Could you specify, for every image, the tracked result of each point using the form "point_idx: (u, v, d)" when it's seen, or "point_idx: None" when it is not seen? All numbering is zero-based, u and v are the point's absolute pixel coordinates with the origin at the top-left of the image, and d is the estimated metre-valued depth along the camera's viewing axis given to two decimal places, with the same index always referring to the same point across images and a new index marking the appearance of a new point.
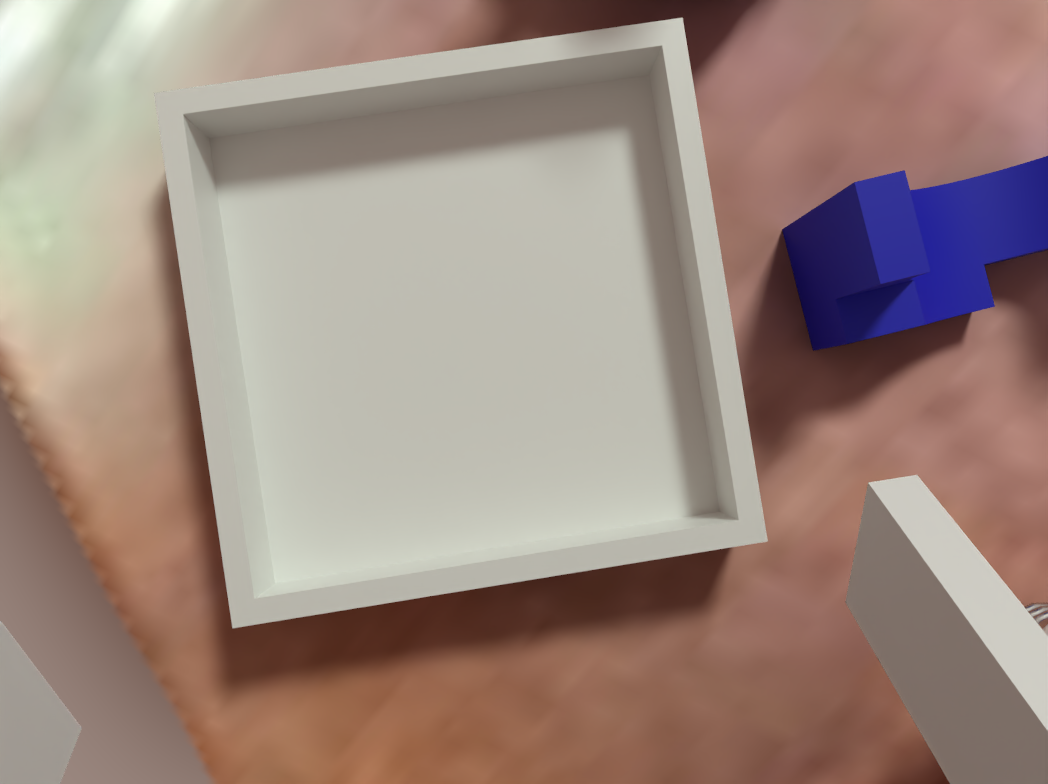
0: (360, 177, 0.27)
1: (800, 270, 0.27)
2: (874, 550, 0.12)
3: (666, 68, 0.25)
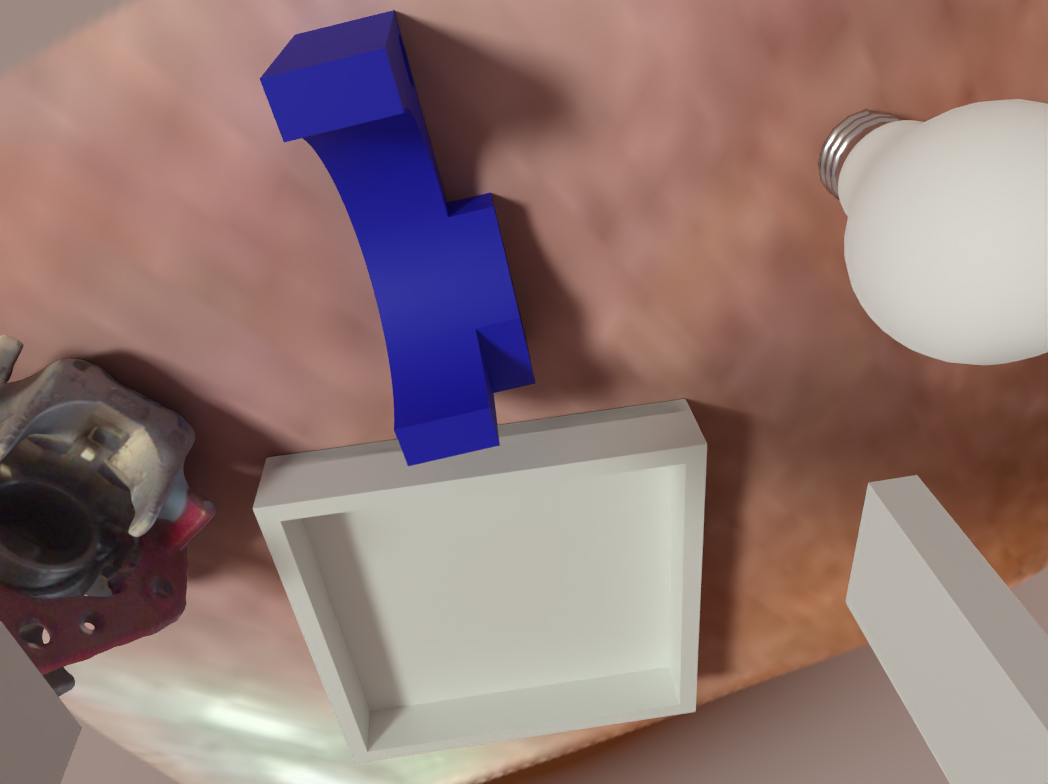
0: (392, 643, 0.37)
1: None
2: (874, 550, 0.12)
3: (300, 517, 0.29)
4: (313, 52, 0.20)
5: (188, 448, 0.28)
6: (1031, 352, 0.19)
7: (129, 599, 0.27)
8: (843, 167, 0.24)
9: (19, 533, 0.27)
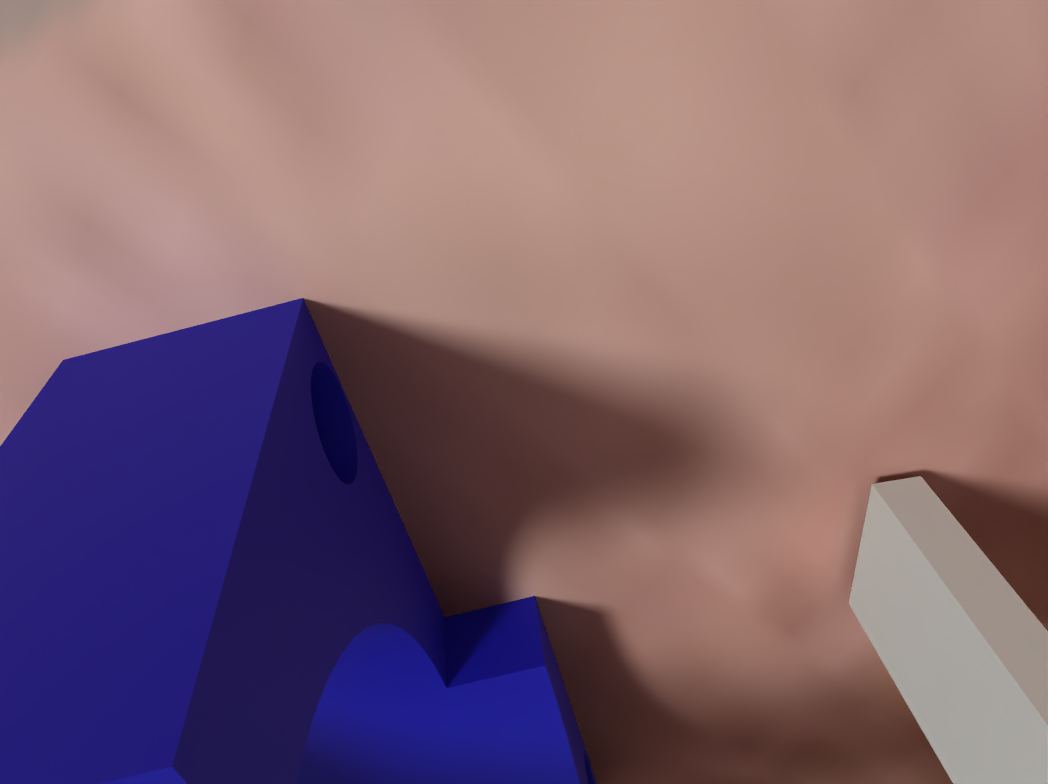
0: None
1: None
2: (878, 551, 0.12)
3: None
4: None
5: None
6: None
7: None
8: None
9: None
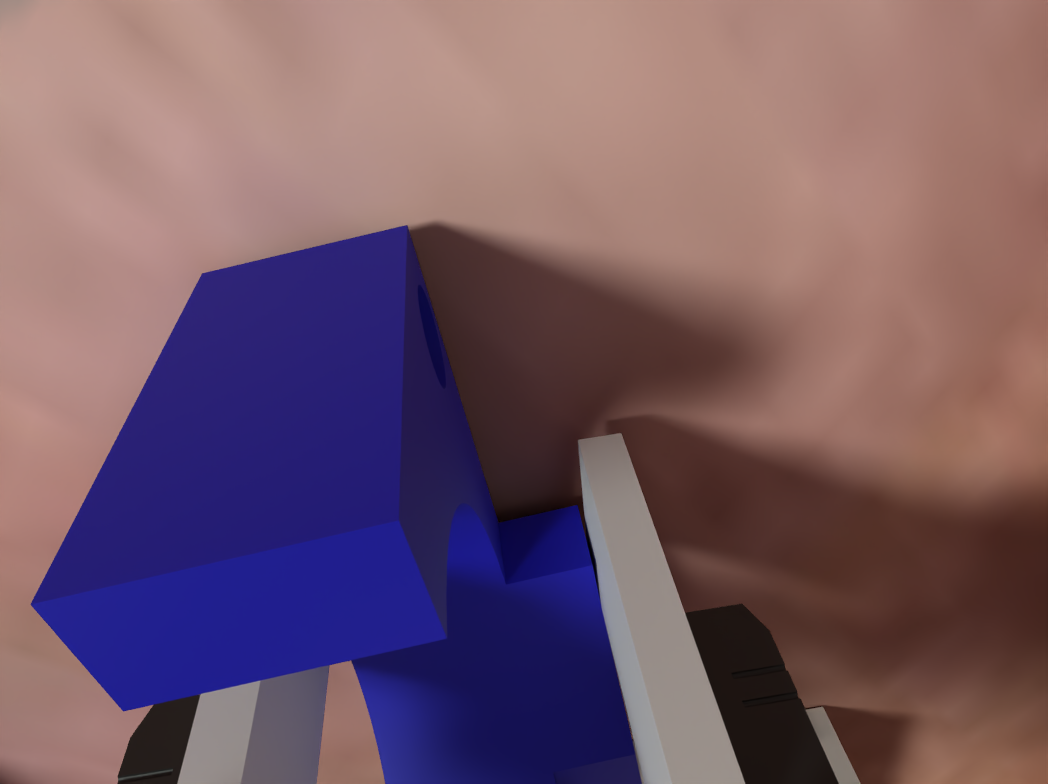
0: None
1: None
2: (586, 499, 0.13)
3: None
4: (210, 432, 0.08)
5: None
6: None
7: None
8: None
9: None
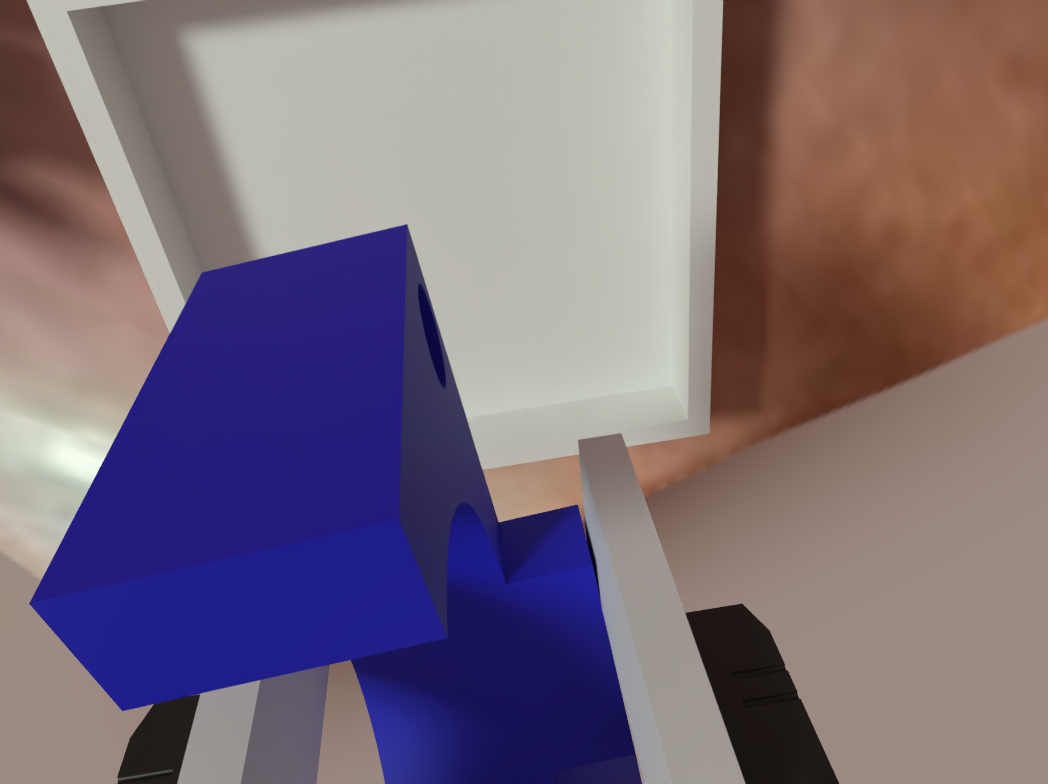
0: None
1: None
2: (586, 500, 0.13)
3: (97, 5, 0.19)
4: (210, 431, 0.08)
5: None
6: None
7: None
8: None
9: None
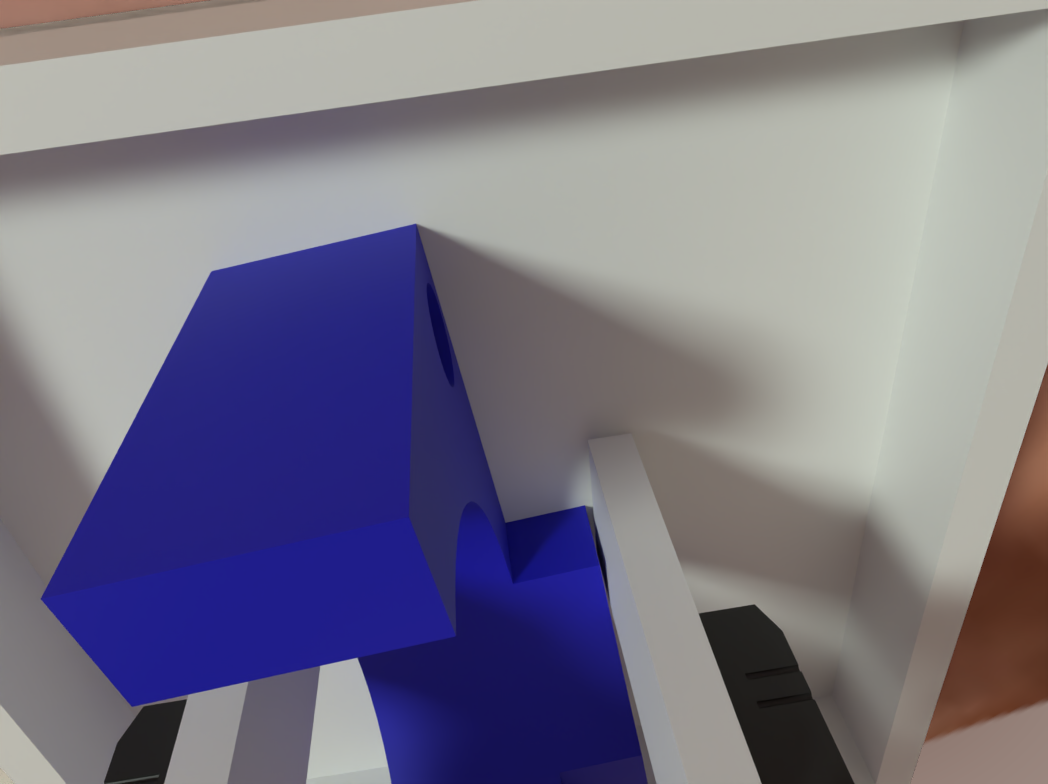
0: None
1: None
2: (596, 500, 0.13)
3: None
4: (220, 429, 0.08)
5: None
6: None
7: None
8: None
9: None
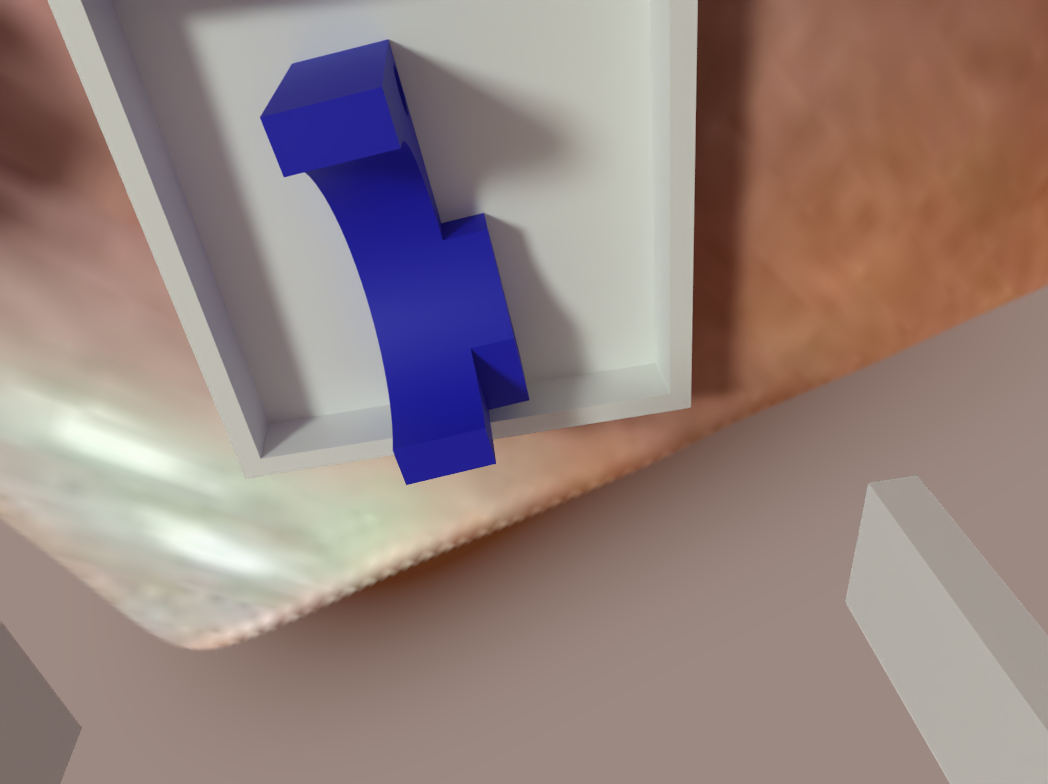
0: (287, 305, 0.28)
1: None
2: (874, 550, 0.12)
3: None
4: (311, 88, 0.20)
5: None
6: None
7: None
8: None
9: None
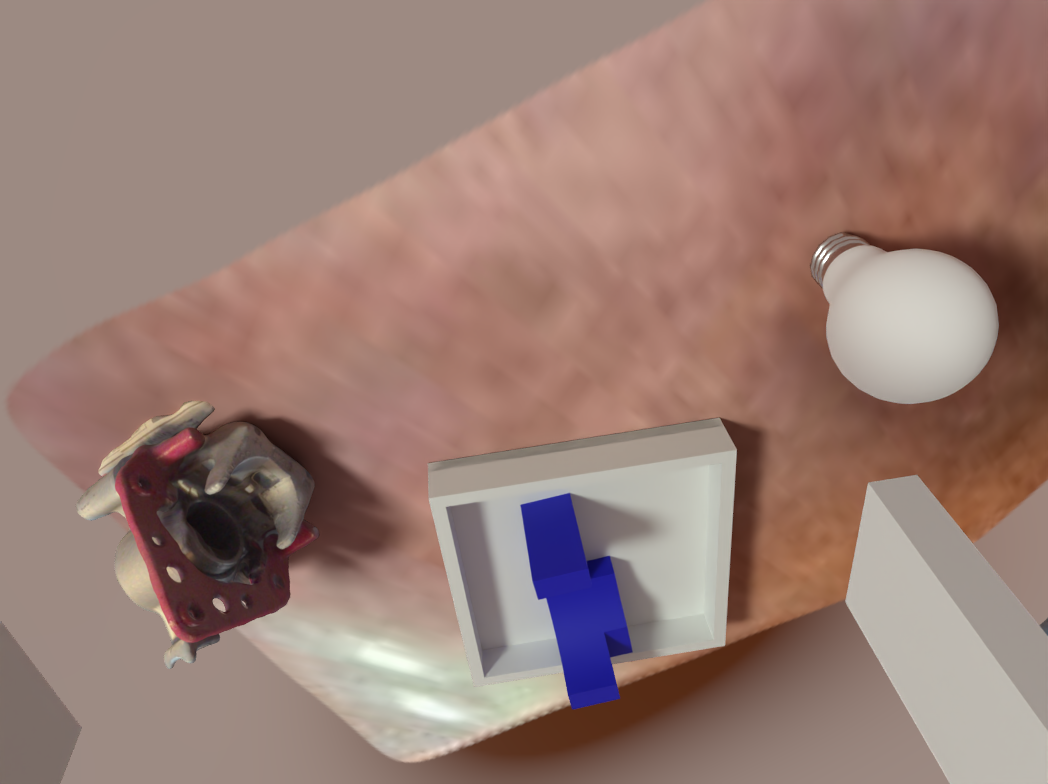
0: (503, 597, 0.51)
1: None
2: (874, 550, 0.12)
3: (459, 504, 0.43)
4: (547, 551, 0.43)
5: None
6: (935, 397, 0.32)
7: (263, 588, 0.41)
8: (826, 274, 0.37)
9: None
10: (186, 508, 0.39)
